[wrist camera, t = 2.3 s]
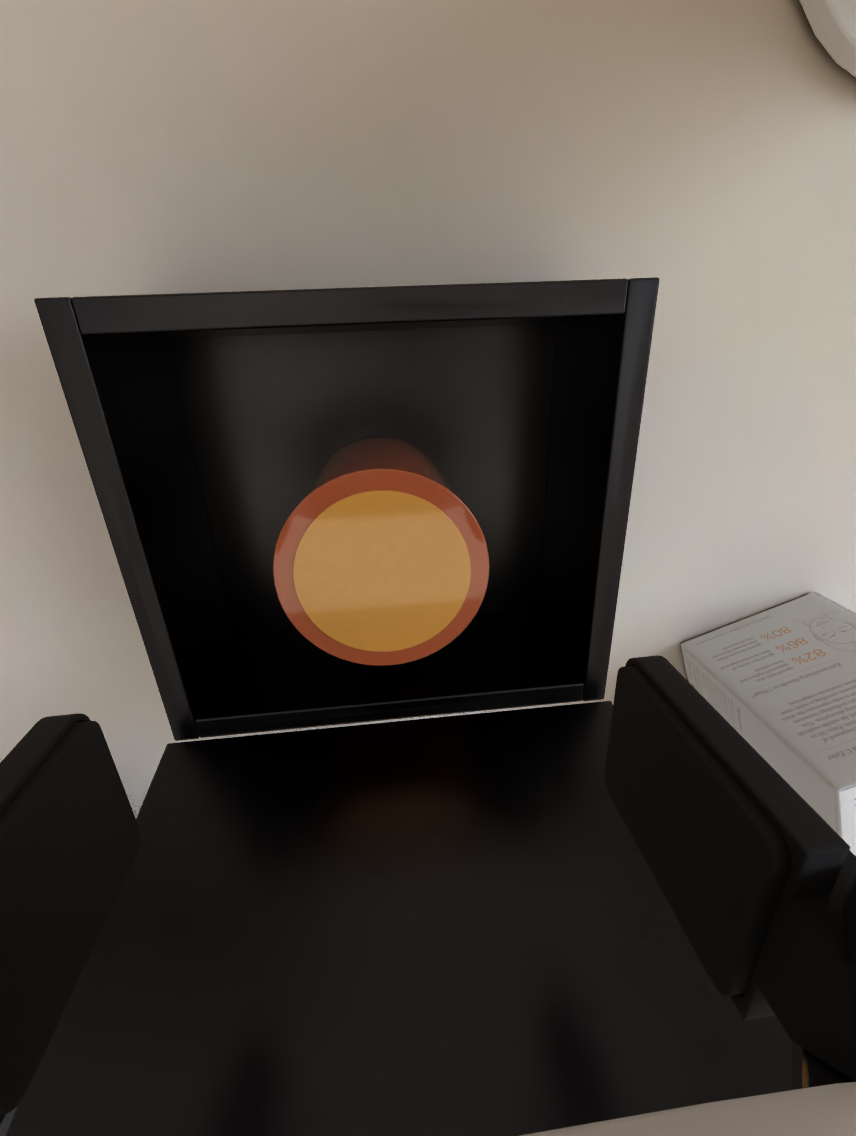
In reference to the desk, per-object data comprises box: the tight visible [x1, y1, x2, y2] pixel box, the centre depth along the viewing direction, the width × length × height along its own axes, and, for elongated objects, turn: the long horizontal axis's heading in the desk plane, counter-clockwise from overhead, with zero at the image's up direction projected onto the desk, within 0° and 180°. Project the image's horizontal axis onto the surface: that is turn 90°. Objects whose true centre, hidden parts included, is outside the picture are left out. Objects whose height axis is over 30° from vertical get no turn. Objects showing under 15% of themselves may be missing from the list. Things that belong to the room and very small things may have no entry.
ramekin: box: [273, 437, 489, 666], centre depth 19 cm, size 7×7×8 cm
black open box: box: [34, 278, 659, 741], centre depth 20 cm, size 15×17×7 cm
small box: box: [681, 592, 856, 856], centre depth 24 cm, size 8×6×10 cm
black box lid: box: [5, 701, 792, 1136], centre depth 13 cm, size 16×17×4 cm
